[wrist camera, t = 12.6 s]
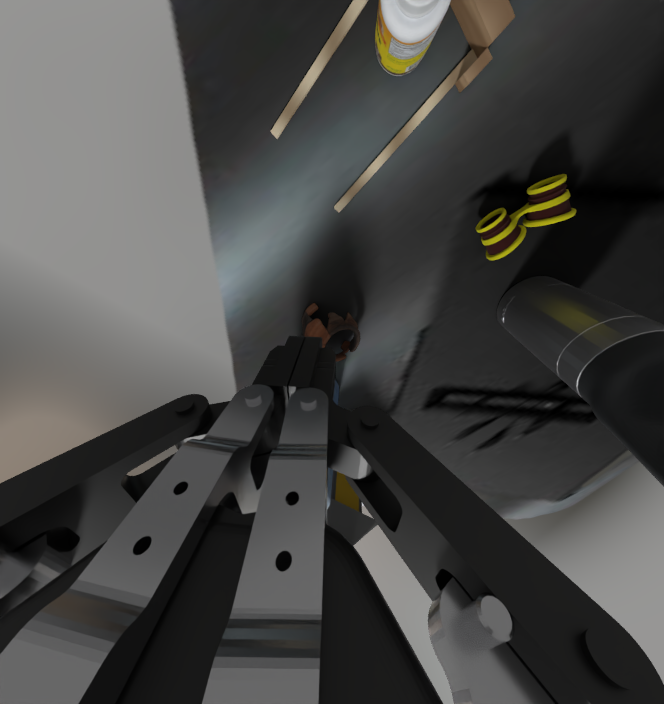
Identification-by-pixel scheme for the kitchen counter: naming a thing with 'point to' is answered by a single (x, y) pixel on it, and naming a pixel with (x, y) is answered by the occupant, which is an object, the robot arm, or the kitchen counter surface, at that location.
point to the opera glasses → (543, 207)
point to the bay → (480, 31)
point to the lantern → (347, 511)
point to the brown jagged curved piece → (330, 329)
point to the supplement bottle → (406, 32)
